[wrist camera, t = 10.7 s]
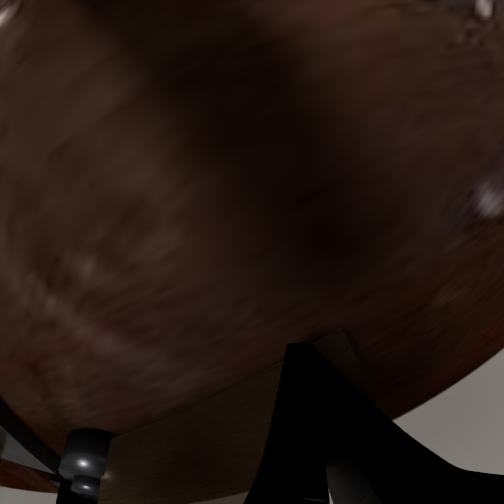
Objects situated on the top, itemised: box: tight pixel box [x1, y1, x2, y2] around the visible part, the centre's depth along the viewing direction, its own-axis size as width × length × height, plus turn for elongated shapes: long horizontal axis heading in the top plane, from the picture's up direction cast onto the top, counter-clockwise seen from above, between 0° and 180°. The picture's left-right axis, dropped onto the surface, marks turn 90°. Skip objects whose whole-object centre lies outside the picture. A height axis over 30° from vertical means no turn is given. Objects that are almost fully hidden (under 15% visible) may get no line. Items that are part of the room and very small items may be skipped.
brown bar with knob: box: [59, 326, 389, 504], centre depth 12 cm, size 20×5×5 cm, turn 127°
